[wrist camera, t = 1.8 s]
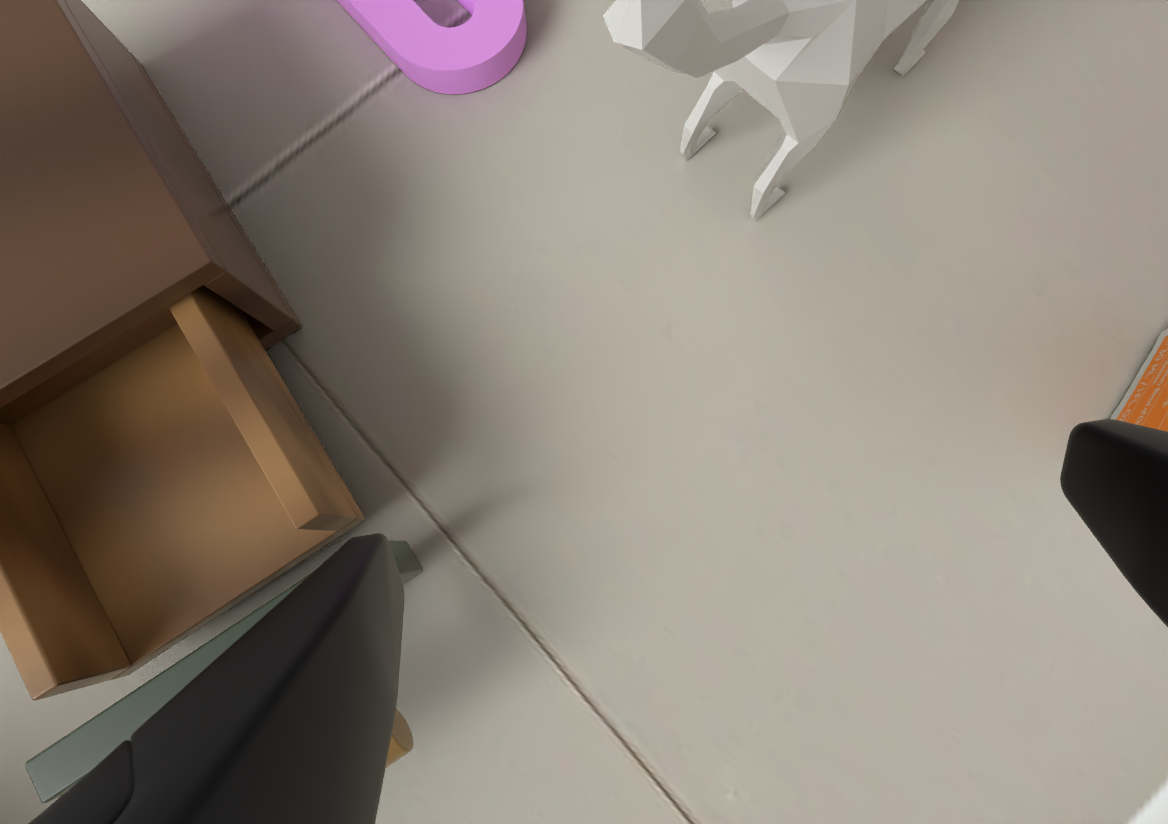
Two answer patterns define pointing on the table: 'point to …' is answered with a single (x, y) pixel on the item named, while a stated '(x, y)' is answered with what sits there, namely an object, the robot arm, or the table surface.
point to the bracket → (446, 41)
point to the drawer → (155, 515)
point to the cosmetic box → (1148, 391)
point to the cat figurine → (772, 60)
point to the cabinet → (102, 201)
